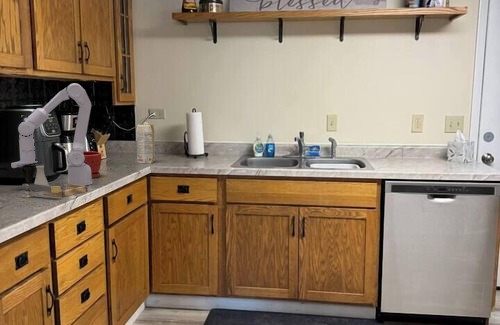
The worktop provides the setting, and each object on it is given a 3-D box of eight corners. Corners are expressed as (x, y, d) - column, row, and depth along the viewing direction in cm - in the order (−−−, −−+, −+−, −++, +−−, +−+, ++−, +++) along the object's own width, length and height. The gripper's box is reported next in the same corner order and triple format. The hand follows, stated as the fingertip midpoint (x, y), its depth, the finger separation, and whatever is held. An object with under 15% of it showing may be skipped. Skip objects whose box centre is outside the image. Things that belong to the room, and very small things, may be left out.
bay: (68, 188, 195) (68, 183, 195) (87, 191, 191) (87, 186, 191) (43, 194, 184) (43, 189, 183) (63, 197, 179) (62, 191, 179)
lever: (20, 189, 179) (20, 184, 178) (27, 188, 182) (27, 182, 182) (55, 193, 173) (55, 187, 173) (62, 191, 177) (61, 185, 177)
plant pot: (68, 179, 218) (67, 153, 217) (81, 174, 231) (80, 150, 230) (94, 180, 217) (93, 154, 215) (106, 175, 230) (105, 151, 228)
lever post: (28, 194, 183) (28, 188, 183) (36, 195, 181) (36, 189, 181) (19, 196, 179) (18, 190, 179) (27, 197, 177) (27, 191, 177)
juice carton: (155, 162, 278) (155, 122, 274) (151, 164, 270) (151, 122, 266) (140, 161, 278) (139, 121, 275) (136, 163, 271) (135, 122, 267)
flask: (53, 188, 197) (52, 164, 195) (46, 191, 190) (45, 167, 188) (36, 188, 196) (35, 164, 195) (28, 191, 189) (27, 167, 188)
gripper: (35, 148, 202) (36, 179, 204) (5, 151, 189) (7, 184, 191) (46, 149, 199) (48, 180, 201) (17, 152, 186) (19, 186, 188)
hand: (29, 182), depth 196 cm, fingers closed
